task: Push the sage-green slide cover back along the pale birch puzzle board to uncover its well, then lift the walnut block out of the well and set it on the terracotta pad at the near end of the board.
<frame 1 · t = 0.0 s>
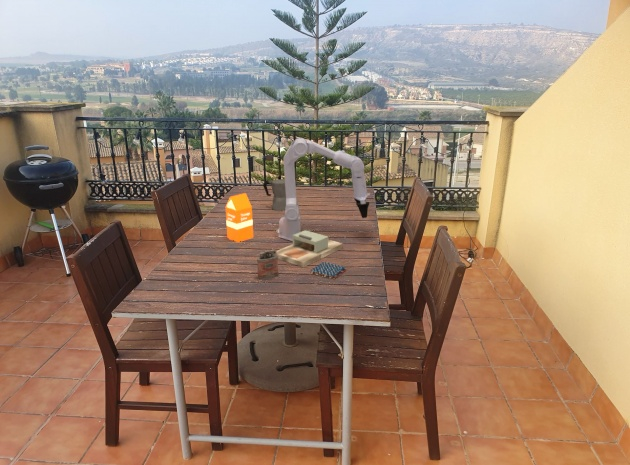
hand: (363, 214, 205), 11 cm above the table, tool pointing down, fingers open, 7 cm apart
walnut block: (310, 252, 192), resting in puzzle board
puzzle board: (308, 252, 191), on the table
slide cover: (310, 240, 190), point 5 cm above the table, slide at 0.0 cm
orange juice: (240, 238, 207), on the table
coffeepot: (278, 208, 250), on the table
woven mat: (328, 273, 173), on the table
lighter: (268, 276, 169), on the table
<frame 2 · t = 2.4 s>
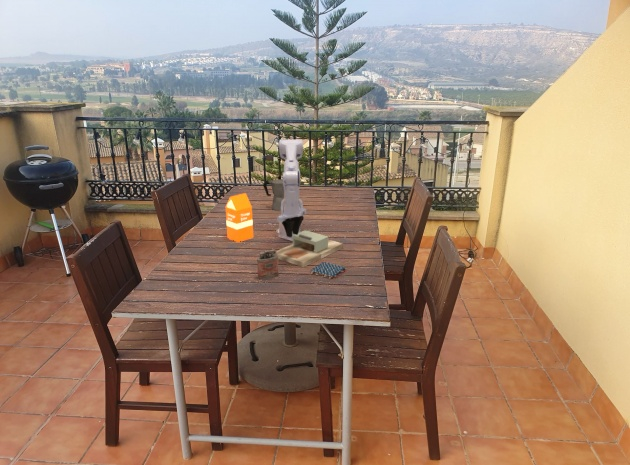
hand: (292, 235, 180), 10 cm above the table, tool pointing down, fingers open, 3 cm apart
nothing on the table moved.
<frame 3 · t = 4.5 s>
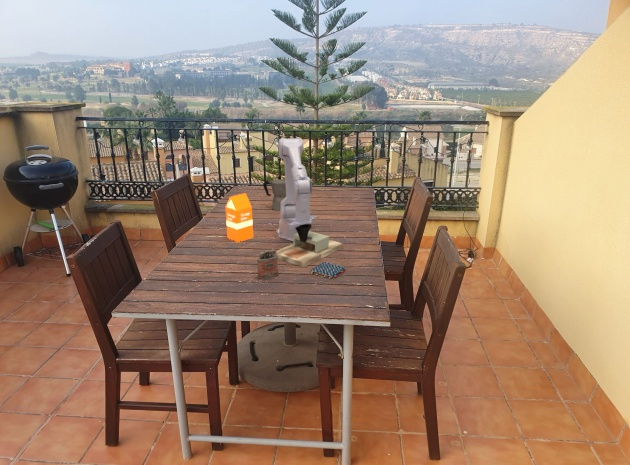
hand: (303, 241, 186), 6 cm above the table, tool pointing down, fingers closed
slide cover: (310, 240, 190), point 5 cm above the table, slide at 0.4 cm, touching gripper
everything else where it was.
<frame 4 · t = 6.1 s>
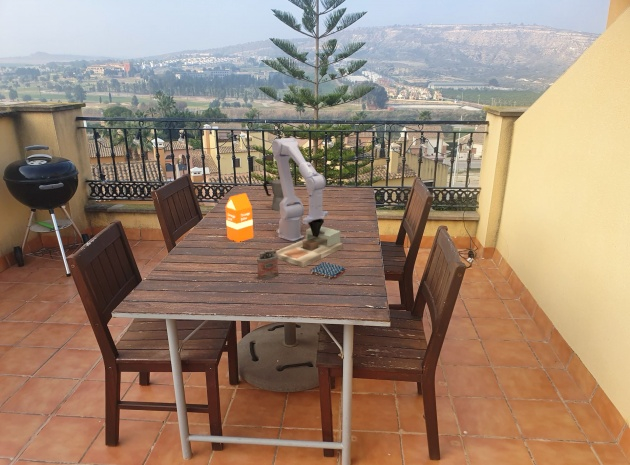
hand: (315, 236, 192), 6 cm above the table, tool pointing down, fingers closed
slide cover: (322, 234, 196), point 5 cm above the table, slide at 8.5 cm, touching gripper
everything else where it was.
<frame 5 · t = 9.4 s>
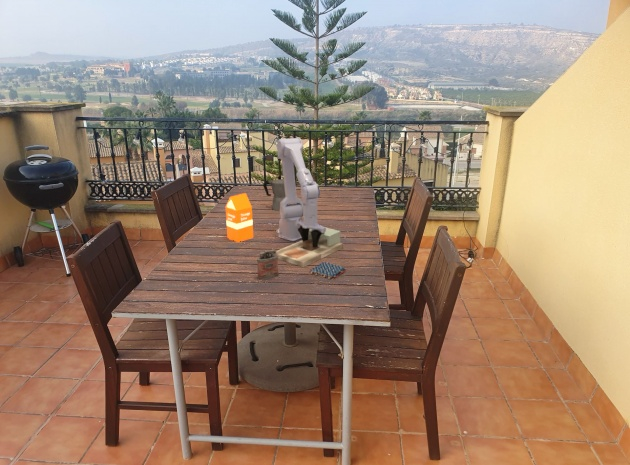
hand: (310, 245, 191), 3 cm above the table, tool pointing down, fingers closed on walnut block, 4 cm apart
walnut block: (310, 251, 192), resting in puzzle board, touching gripper
slide cover: (323, 234, 196), point 5 cm above the table, slide at 8.5 cm
everything else where it was.
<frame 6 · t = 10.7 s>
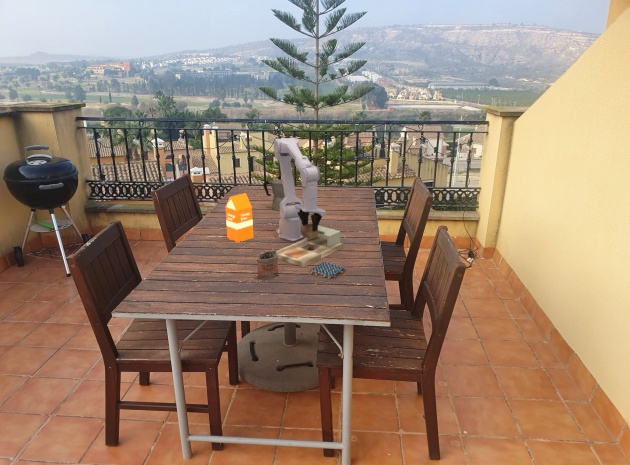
hand: (310, 229, 188), 10 cm above the table, tool pointing down, fingers closed on walnut block, 4 cm apart
walnut block: (310, 236, 189), point 7 cm above the table, touching gripper
everything else where it was.
when the fingers open (6 cm above the table, at t = 12.3 s): walnut block drops 1 cm, resting on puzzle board.
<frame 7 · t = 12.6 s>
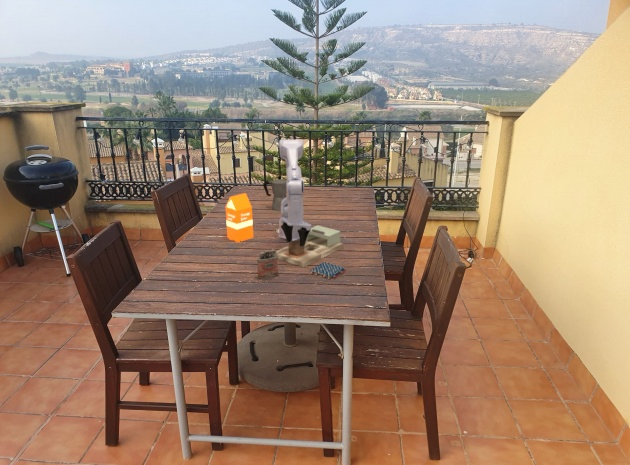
hand: (295, 243, 183), 6 cm above the table, tool pointing down, fingers open, 6 cm apart
walnut block: (296, 253, 184), point 2 cm above the table, touching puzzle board
everything else where it was.
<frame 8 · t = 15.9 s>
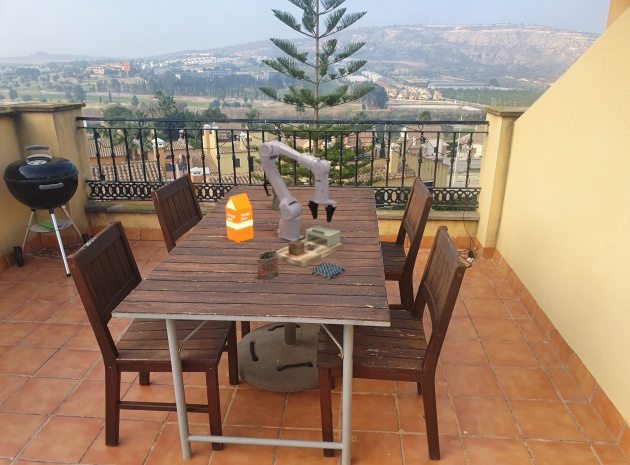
hand: (322, 220, 198), 10 cm above the table, tool pointing down, fingers open, 7 cm apart
nothing on the table moved.
at the end: slide cover slide at 8.5 cm; walnut block 0.3 cm from the target spot, point 2.2 cm above the table; walnut block tilted 0° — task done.
